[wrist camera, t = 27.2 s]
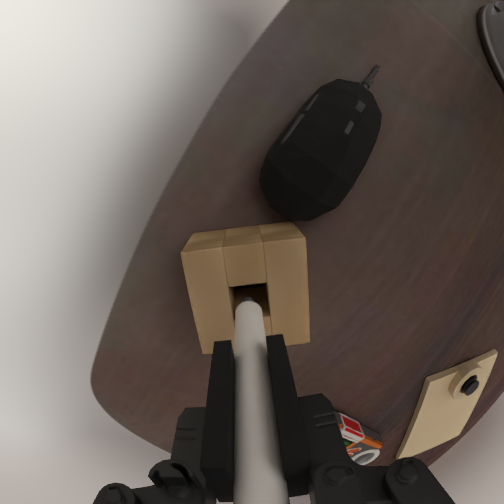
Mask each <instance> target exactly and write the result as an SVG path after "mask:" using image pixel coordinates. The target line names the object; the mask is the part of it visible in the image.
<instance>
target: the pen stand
mask: <svg viewBox="0 0 504 504" xmlns="http://www.w3.org/2000/svg"><path fill="white" fill-rule="evenodd" d="M180 254H181V259H182V264H183V269H184V274H185V279H186V284H187V289H188V293H189V298H190V302H191V307H192V311H193V316H194V320H195V324H196V329H197V333H198V337H199V341H200V345H201V349H202V353H203V354H213V346H214V341H224V340H231V342H232V348H233V352H235V311H236V308H237V307H238V305H240V304H241V303H243V299H244V298H245V297H251V298H252V299H253V302H255V303H257V304H258V305H259V306H260V307H261V309H262V315H263V322H264V328H265V335H266V336H269V335H277V334H283V337H284V341H285V346H287V345H294V344H301V343H308V342H310V320H309V291H308V269H307V251H306V238H305V237H304V235H303V234H302V233H301V232H300V231H299V229H298V228H297V227H296V226H295V225H294V223H293V222H292V221H290V222H281V223H272V224H264V225H254V226H246V227H238V228H230V229H227V230H226V229H222V230H214V231H206V232H199V233H193V234H192V236H191V237H190V239H189V240H188V242H187V243H186V245H185V247H184V248H183V250H182V251H181V253H180ZM259 283H265V286H260V287H252V288H243V289H236V290H235V286H242V285H250V284H259Z"/></svg>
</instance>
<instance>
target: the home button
mask: <svg viewBox="0 0 504 504" xmlns="http://www.w3.org/2000/svg"><path fill="white" fill-rule="evenodd" d="M478 386H479V381H478V380H477V379H476V378H475V377H474V376H471V377H470V378H468V379H467V380H466V381H465V382H464V384H463V385H462V387H461V390H462V391H463V392H464V394H465V395H466V396H469V395H471V394H472V393H473V392H474V391H475V390H476V389H477V388H478Z"/></svg>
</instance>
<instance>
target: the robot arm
mask: <svg viewBox="0 0 504 504" xmlns="http://www.w3.org/2000/svg"><path fill="white" fill-rule="evenodd" d="M478 28H479V34H480V38H481V41H482V44H483V48H484V50H485V53H486V56H487V58H488V61H489V63H490V65H491V67H492V69H493V71H494V73H495V75H496V77H497V79H498V81H499V83H500V85H501V86H502V88H503V90H504V2H492V3H489V4H487V5H485V6H483V7H482V8H481V9H480V10H479V13H478ZM266 345H267V354H268V361H269V369H270V376H271V383H272V390H273V398H274V405H275V412H276V419H277V427H278V434H279V441H280V448H281V456H282V463H283V470H284V478H285V480H286V482H287V487H288V494H289V497H294V496H301V495H307V494H309V495H310V500H311V504H455V503H454V501H453V500H452V499H451V497H450V496H449V495H448V494H447V492H446V491H445V490H444V488H443V487H442V486H441V484H440V483H439V482H438V481H437V479H436V478H435V477H434V475H433V474H432V473H431V471H430V470H429V469H428V468H427V466H426V465H425V464H424V463H423V462H422V461H421V460H419V459H416V458H413V457H404V458H401V459H397V460H396V461H394V462H393V463H392V464H390V466H377V467H370V466H363V465H360V464H358V463H356V462H355V461H353V460H352V459H351V458H350V456H349V454H348V452H347V449H346V446H345V443H344V440H343V437H342V434H341V431H340V428H339V425H338V423H337V419H336V416H335V414H334V410H333V408H332V405H331V402H330V401H329V400H328V399H327V398H326V397H325V396H324V395H323V394H322V393H321V394H315V395H309V396H303V397H297V393H296V388H295V384H294V380H293V375H292V371H291V367H290V363H289V358H288V354H287V350H286V346H285V341H284V337H283V334H277V335H269V336H266ZM234 378H235V358H234V353H233V348H232V342H231V340H224V341H214V346H213V354H212V361H211V370H210V378H209V386H208V395H207V403H206V407H198V408H185V409H184V411H183V412H182V413H181V415H180V416H179V418H178V423H177V428H176V429H177V430H176V433H175V439H174V443H173V448H172V454H171V459H169V460H163V461H161V462H159V463H157V464H156V465H155V466H154V467H153V468H152V469H151V470H150V472H149V475H148V477H149V478H150V479H151V480H152V482H153V483H154V484H155V485H152V486H148V487H142V488H135V489H130V488H129V487H128V486H126V485H124V484H120V483H112V484H108V485H106V486H104V487H103V488H102V489H101V490H100V491H99V493H98V495H97V497H96V499H95V500H94V502H93V504H216V498H217V500H218V501H219V502H233V485H234Z"/></svg>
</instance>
